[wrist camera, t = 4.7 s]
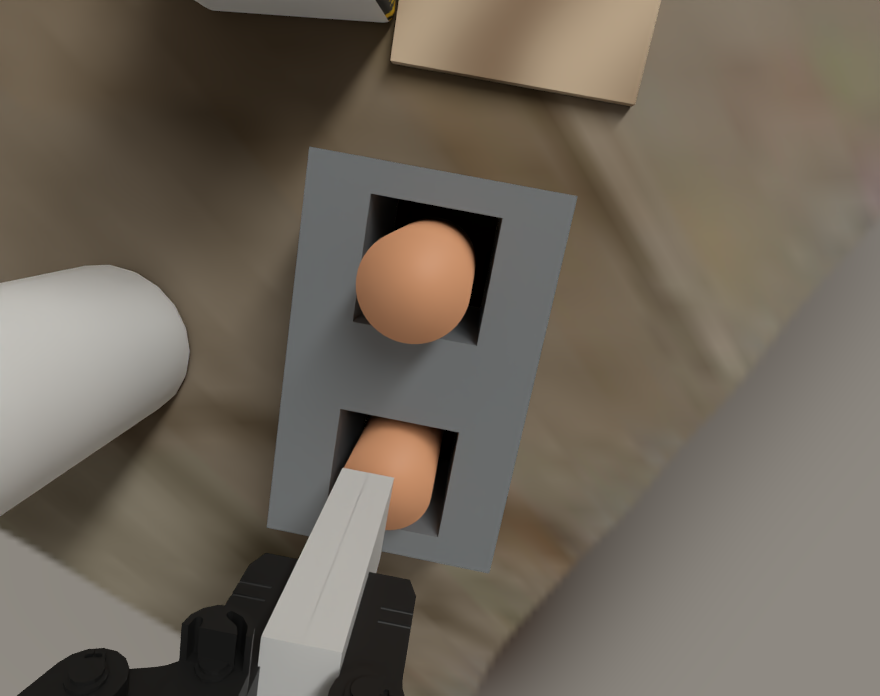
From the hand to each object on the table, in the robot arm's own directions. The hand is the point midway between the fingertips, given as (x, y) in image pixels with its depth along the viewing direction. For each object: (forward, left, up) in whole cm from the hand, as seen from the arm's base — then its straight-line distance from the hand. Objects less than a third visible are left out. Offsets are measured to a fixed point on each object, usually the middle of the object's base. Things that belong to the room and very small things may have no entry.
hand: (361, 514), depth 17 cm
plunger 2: (0, 0, -8) cm, 8 cm away
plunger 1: (0, +7, -6) cm, 9 cm away
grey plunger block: (0, +3, -9) cm, 10 cm away
